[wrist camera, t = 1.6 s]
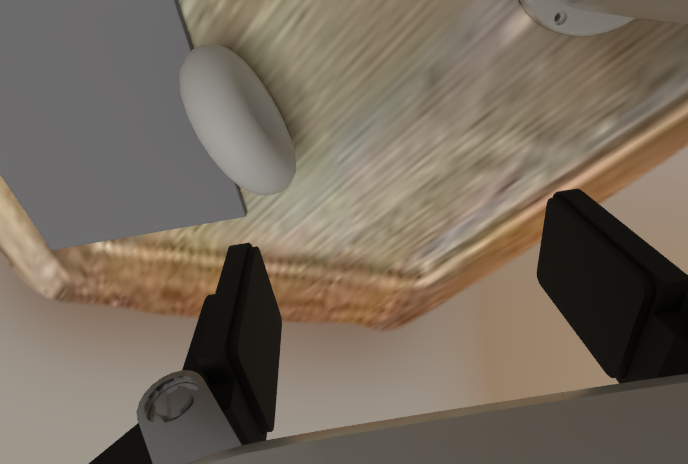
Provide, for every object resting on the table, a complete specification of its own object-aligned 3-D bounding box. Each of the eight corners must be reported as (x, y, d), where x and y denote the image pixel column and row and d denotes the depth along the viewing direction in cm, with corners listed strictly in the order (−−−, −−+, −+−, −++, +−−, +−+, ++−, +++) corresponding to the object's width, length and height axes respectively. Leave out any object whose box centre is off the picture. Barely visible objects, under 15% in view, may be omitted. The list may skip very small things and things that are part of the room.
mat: (166, -33, 25) (162, -34, 25) (246, 211, 35) (245, 216, 34) (-96, 15, 26) (-107, 16, 25) (56, 244, 35) (51, 250, 35)
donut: (190, 49, 28) (140, 82, 20) (232, 24, 27) (199, 46, 19) (269, 167, 33) (256, 232, 25) (306, 147, 32) (305, 208, 24)
